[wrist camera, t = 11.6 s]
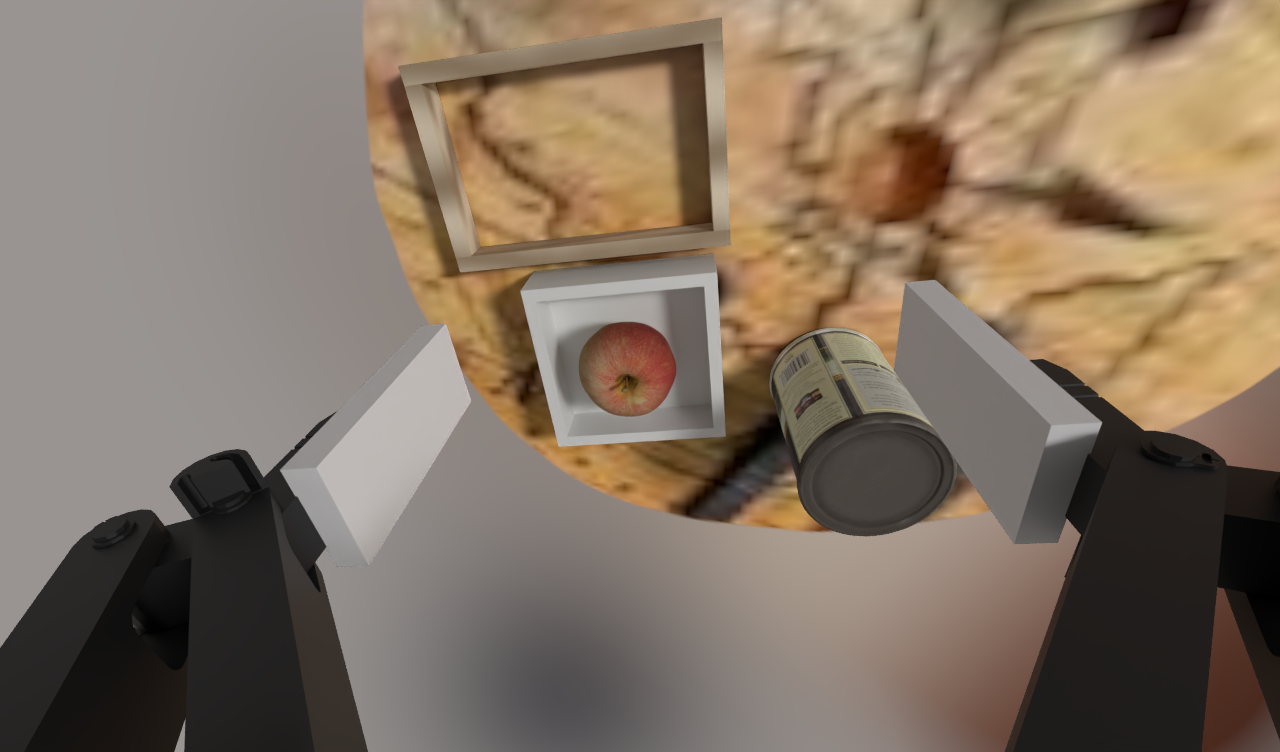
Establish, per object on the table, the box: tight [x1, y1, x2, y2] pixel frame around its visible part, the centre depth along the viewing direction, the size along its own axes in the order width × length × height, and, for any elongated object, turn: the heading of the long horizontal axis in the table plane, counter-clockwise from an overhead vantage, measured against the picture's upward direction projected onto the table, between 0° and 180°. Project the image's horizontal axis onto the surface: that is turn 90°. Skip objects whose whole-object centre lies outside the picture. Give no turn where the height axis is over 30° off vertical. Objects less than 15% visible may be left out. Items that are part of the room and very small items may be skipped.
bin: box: [520, 254, 726, 446], centre depth 46 cm, size 15×15×4 cm
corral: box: [398, 18, 731, 272], centre depth 39 cm, size 14×21×2 cm
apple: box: [579, 322, 676, 417], centre depth 44 cm, size 8×8×8 cm
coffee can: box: [769, 328, 957, 536], centre depth 42 cm, size 10×10×14 cm
